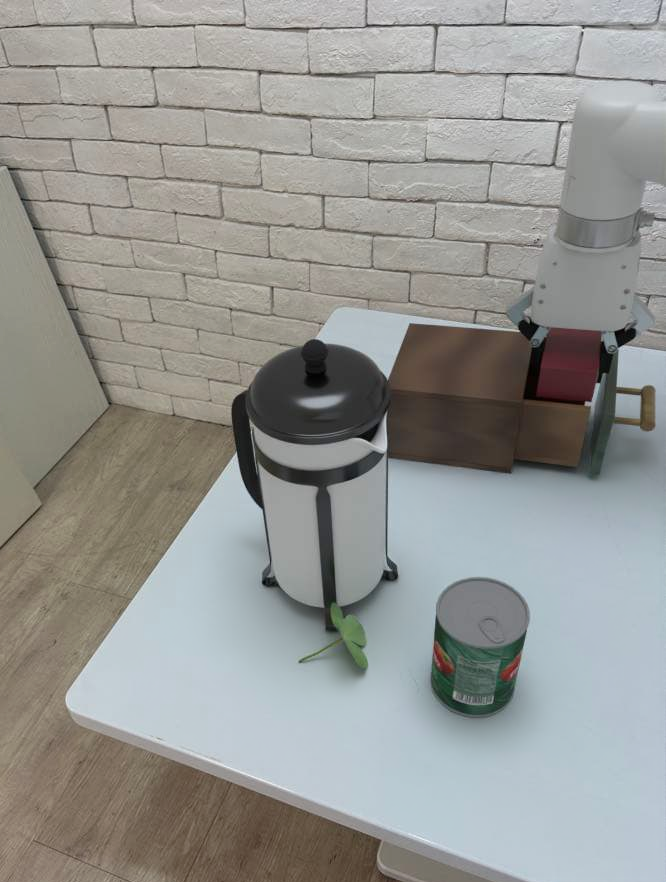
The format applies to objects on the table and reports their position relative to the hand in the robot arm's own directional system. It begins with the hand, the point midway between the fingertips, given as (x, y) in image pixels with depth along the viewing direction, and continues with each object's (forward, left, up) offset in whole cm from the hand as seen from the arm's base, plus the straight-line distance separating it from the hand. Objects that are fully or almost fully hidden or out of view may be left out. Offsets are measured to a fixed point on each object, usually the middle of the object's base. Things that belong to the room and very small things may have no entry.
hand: (567, 372), depth 93 cm
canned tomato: (+28, +27, -10) cm, 40 cm away
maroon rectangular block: (0, 0, -1) cm, 1 cm away
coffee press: (+36, +8, -10) cm, 38 cm away
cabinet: (+10, -8, -10) cm, 16 cm away
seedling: (+38, +18, -10) cm, 43 cm away
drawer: (-1, 0, -9) cm, 9 cm away
